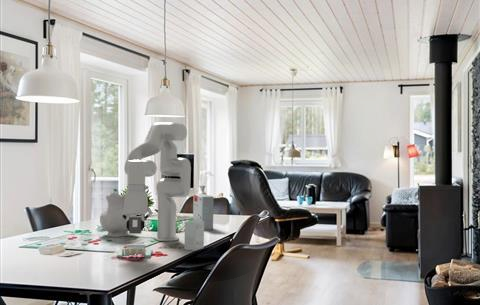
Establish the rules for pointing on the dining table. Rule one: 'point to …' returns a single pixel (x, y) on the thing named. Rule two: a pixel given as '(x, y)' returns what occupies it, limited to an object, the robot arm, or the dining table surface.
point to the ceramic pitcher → (114, 216)
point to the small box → (194, 235)
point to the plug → (135, 225)
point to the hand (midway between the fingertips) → (135, 229)
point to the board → (135, 251)
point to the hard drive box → (203, 209)
